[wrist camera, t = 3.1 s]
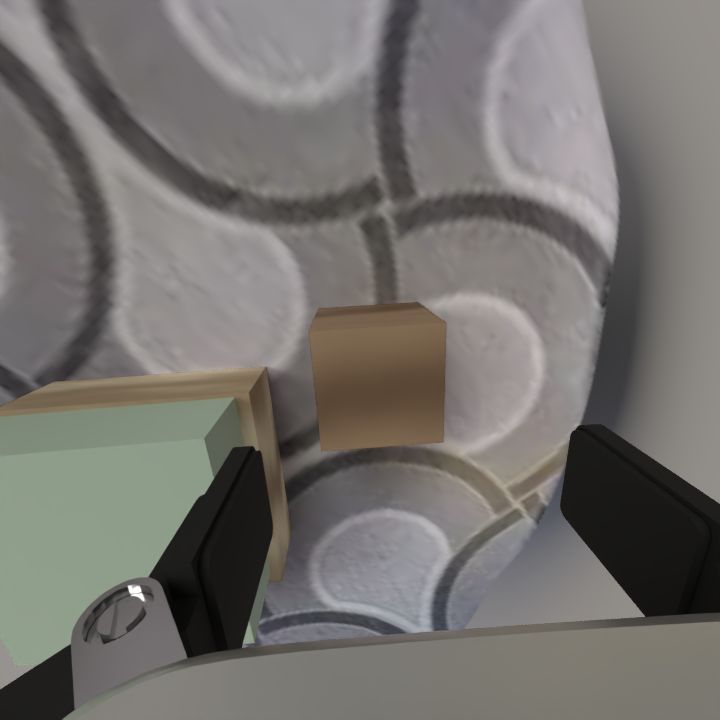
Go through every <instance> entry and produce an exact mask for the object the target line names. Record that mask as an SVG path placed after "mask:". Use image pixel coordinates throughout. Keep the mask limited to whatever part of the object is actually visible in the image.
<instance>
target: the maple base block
mask: <svg viewBox="0 0 720 720" xmlns="http://www.w3.org/2000/svg"><path fill="white" fill-rule="evenodd" d="M230 397H235V401H236V406H237V411H238V416H239V421H240V425H241V430H242V435H243V440H244V445H245V446H254V448H255V450H256V451H258V450H260V451H261V453H262V458H263V464H264V471H265V477H266V483H267V489H268V495H269V501H270V508H271V514H272V520H273V535H272V539H271V543H270V547H269V550H268V554H267V557H268V562H269V567H270V571H271V573H270V577H269V581H268V582H274V581H282V579H283V574H284V569H285V563H286V558H287V552H288V547H289V542H290V536H291V531H292V530H291V523H290V517H289V510H288V504H287V498H286V491H285V485H284V478H283V472H282V466H281V459H280V453H279V447H278V440H277V434H276V427H275V421H274V415H273V408H272V402H271V395H270V389H269V383H268V376H267V370H266V367H253V368H239V369H225V370H212V371H198V372H184V373H170V374H156V375H142V376H129V377H115V378H101V379H87V380H73V381H60V382H53V383H51V384H48V385H46V386H44V387H42V388H40V389H37V390H35V391H33V392H31V393H29V394H27V395H24V396H22V397H20V398H18V399H16V400H13V401H11V402H9V403H7V404H5V405H3V406H0V417H3V416H15V415H27V414H39V413H51V412H63V411H75V410H87V409H99V408H111V407H123V406H135V405H147V404H159V403H170V402H182V401H194V400H206V399H218V398H230Z"/></svg>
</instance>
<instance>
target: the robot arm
mask: <svg viewBox="0 0 720 720" xmlns="http://www.w3.org/2000/svg"><path fill="white" fill-rule="evenodd" d="M560 507H561V511H562V514H563V516H564V517H565V519H566V520H567V521H568V522H569V524H570V525H571V526H572V527H573V528H574V530H575V531H576V532H577V533H578V535H579V536H580V537H581V538H582V540H583V541H584V542H585V543H586V544H587V546H588V547H589V548H590V549H591V551H593V553H594V554H595V555H596V556H597V558H598V559H599V560H600V562H601V563H602V564H603V565H604V566H605V568H606V569H607V570H608V571H609V573H610V574H611V575H612V576H613V577H614V579H615V580H616V581H617V582H618V584H620V586H621V587H622V588H623V590H624V591H625V592H626V593H627V595H628V596H629V597H630V598H631V599H632V601H633V602H634V603H635V604H636V605H637V607H638V608H639V609H640V610H641V612H642V613H643V614H644V615H645V617H638V618H622V619H606V620H590V621H576V622H562V623H546V624H532V625H517V626H503V627H489V628H475V629H460V630H446V631H433V632H420V633H407V634H393V635H380V636H367V637H354V638H341V639H328V640H317V641H307V642H296V643H286V644H275V645H265V646H255V647H247V648H242V645H243V641H244V637H245V634H246V630H247V627H248V623H249V619H250V616H251V612H252V608H253V605H254V601H255V597H256V594H257V590H258V587H259V583H260V579H261V576H262V572H263V568H264V565H265V561H266V558H267V554H268V550H269V547H270V543H271V539H272V535H273V520H272V514H271V508H270V501H269V495H268V489H267V483H266V477H265V471H264V464H263V458H262V453H261V451H260V450H258V451H256V450H255V448H254V446H244V447H233V448H232V450H231V451H230V453H229V455H228V456H227V458H226V460H225V461H224V463H223V465H222V466H221V468H220V469H219V471H218V473H217V474H216V476H215V478H214V479H213V481H212V483H211V484H210V486H209V488H208V489H207V491H206V493H205V494H204V495H201V496H199V498H198V499H197V500H196V501H195V503H194V505H193V506H192V508H191V509H190V511H189V513H188V514H187V516H186V517H185V519H184V521H183V522H182V524H181V525H180V527H179V529H178V530H177V532H176V533H175V535H174V537H173V538H172V540H171V541H170V543H169V545H168V546H167V548H166V549H165V551H164V553H163V554H162V556H161V557H160V559H159V561H158V562H157V564H156V565H155V567H154V569H153V570H152V572H151V573H150V575H149V577H139V578H135V579H131V580H127V581H125V582H123V583H120V584H118V585H116V586H114V587H112V588H111V589H109V590H108V591H106V592H105V593H103V594H102V595H100V596H99V597H98V598H97V599H96V600H95V601H93V602H92V603H91V604H90V605H89V606H88V607H87V608H86V610H85V611H84V612H83V613H82V614H81V616H80V617H79V619H78V620H77V622H76V624H75V626H74V628H73V630H72V636H71V644H70V645H68V646H66V647H65V648H63V649H62V650H60V651H59V652H57V653H56V654H54V655H53V656H51V657H50V658H48V659H46V660H45V661H43V662H42V663H40V664H39V665H37V666H36V667H34V668H33V669H31V670H30V671H28V672H27V673H25V674H23V675H22V676H20V677H19V678H17V679H16V680H14V681H13V682H11V683H10V684H8V685H7V686H5V687H3V688H2V689H0V720H720V504H719V503H717V502H716V501H715V500H713V499H711V498H710V497H709V496H707V495H706V494H704V493H703V492H701V491H700V490H698V489H697V488H695V487H694V486H692V485H691V484H689V483H688V482H686V481H685V480H683V479H682V478H680V477H679V476H677V475H676V474H675V473H673V472H672V471H670V470H669V469H667V468H666V467H664V466H663V465H661V464H660V463H658V462H657V461H655V460H654V459H652V458H651V457H649V456H648V455H646V454H645V453H643V452H642V451H640V450H639V449H637V448H636V447H634V446H633V445H631V444H630V443H628V442H627V441H626V440H624V439H622V438H621V437H620V436H618V435H617V434H615V433H614V432H612V431H611V430H609V429H608V428H606V427H605V426H603V425H601V424H593V425H580V426H578V427H577V428H576V430H575V431H573V432H572V433H571V436H570V443H569V449H568V456H567V463H566V469H565V476H564V483H563V489H562V496H561V503H560Z"/></svg>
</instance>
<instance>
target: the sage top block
mask: <svg viewBox="0 0 720 720" xmlns="http://www.w3.org/2000/svg"><path fill="white" fill-rule="evenodd" d="M244 446H245V445H244V440H243V435H242V430H241V425H240V421H239V416H238V411H237V406H236V401H235V397H230V398H218V399H206V400H194V401H182V402H170V403H159V404H147V405H135V406H123V407H111V408H99V409H87V410H75V411H63V412H51V413H39V414H27V415H15V416H3V417H0V639H1V641H2V643H3V644H4V646H5V648H6V649H7V651H8V653H9V654H10V656H11V658H12V660H13V661H14V663H15V665H16V666H26V665H36V664H40V663H42V662H43V661H45V660H46V659H48V658H50V657H51V656H53V655H54V654H56V653H57V652H59V651H60V650H62V649H63V648H65V647H66V646H68V645H70V644H71V636H72V630H73V628H74V626H75V624H76V622H77V620H78V619H79V617H80V616H81V614H82V613H83V612H84V611H85V610H86V608H87V607H88V606H89V605H90V604H91V603H92V602H93V601H95V600H96V599H97V598H98V597H99V596H100V595H102V594H103V593H105V592H106V591H108V590H109V589H111V588H112V587H114V586H116V585H118V584H120V583H123V582H125V581H127V580H131V579H135V578H139V577H149V575H150V573H151V572H152V570H153V569H154V567H155V565H156V564H157V562H158V561H159V559H160V557H161V556H162V554H163V553H164V551H165V549H166V548H167V546H168V545H169V543H170V541H171V540H172V538H173V537H174V535H175V533H176V532H177V530H178V529H179V527H180V525H181V524H182V522H183V521H184V519H185V517H186V516H187V514H188V513H189V511H190V509H191V508H192V506H193V505H194V503H195V501H196V500H197V499H198V498H199V496H201V495H204V494H205V493H206V491H207V489H208V488H209V486H210V484H211V483H212V481H213V479H214V478H215V476H216V474H217V473H218V471H219V469H220V468H221V466H222V465H223V463H224V461H225V460H226V458H227V456H228V455H229V453H230V451H231V450H232V448H233V447H244ZM270 573H271V571H270V567H269V562H268V557H267V558H266V561H265V565H264V568H263V572H262V576H261V579H260V583H259V587H258V590H257V594H256V597H255V601H254V605H253V608H252V612H251V616H250V619H249V623H248V627H247V630H246V634H245V637H244V641H243V644H248V643H255V639H256V634H257V630H258V626H259V621H260V617H261V612H262V608H263V603H264V599H265V595H266V590H267V586H268V581H269V577H270Z"/></svg>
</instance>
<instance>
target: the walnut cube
mask: <svg viewBox="0 0 720 720" xmlns="http://www.w3.org/2000/svg"><path fill="white" fill-rule="evenodd" d="M309 339H310V348H311V358H312V367H313V377H314V386H315V395H316V405H317V414H318V424H319V433H320V443H321V451H334V450H347V449H361V448H374V447H387V446H401V445H414V444H427V443H441V442H443V434H444V396H445V358H446V322H445V321H443V320H442V319H441V318H439V317H438V316H436V315H435V314H434V313H432V312H431V311H429V310H428V309H427V308H425V307H424V306H422V305H421V304H420V303H418V302H414V303H398V304H382V305H366V306H350V307H335V308H319V309H318V310H317V313H316V315H315V318H314V320H313V323H312V325H311V327H310V330H309Z"/></svg>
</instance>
